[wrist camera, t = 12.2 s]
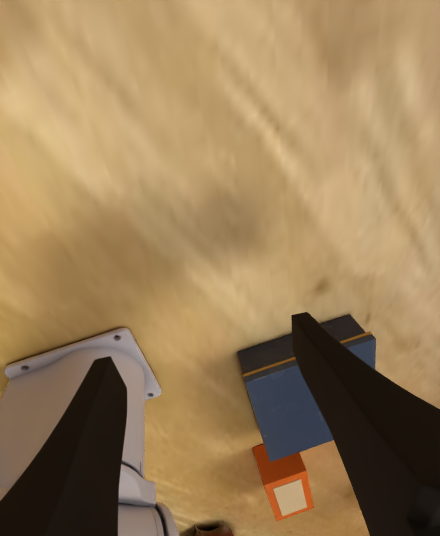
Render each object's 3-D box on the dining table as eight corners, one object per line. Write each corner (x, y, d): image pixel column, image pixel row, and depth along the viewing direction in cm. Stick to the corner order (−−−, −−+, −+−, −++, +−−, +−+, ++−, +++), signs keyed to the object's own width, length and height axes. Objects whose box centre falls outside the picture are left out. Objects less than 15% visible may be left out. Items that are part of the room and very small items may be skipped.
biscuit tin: (259, 429, 34) (270, 462, 31) (234, 350, 28) (244, 383, 25) (354, 396, 35) (374, 426, 32) (352, 311, 28) (376, 338, 25)
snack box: (300, 472, 41) (314, 509, 37) (265, 484, 40) (277, 522, 37) (291, 433, 36) (307, 471, 32) (252, 447, 36) (264, 486, 32)
